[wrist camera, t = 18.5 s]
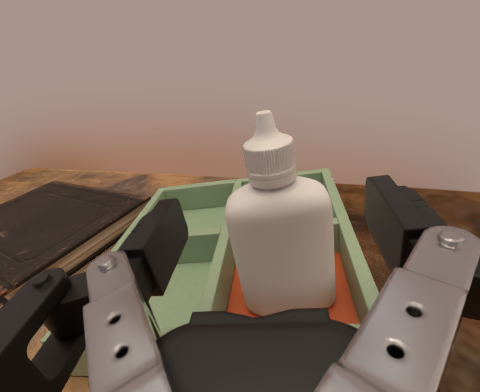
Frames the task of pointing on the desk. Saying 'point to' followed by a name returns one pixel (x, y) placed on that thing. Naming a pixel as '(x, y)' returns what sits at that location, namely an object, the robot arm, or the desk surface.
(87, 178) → the desk surface
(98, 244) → the hardcover book
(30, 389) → the robot arm
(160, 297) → the organizer
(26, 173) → the desk surface
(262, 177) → the eye dropper bottle
